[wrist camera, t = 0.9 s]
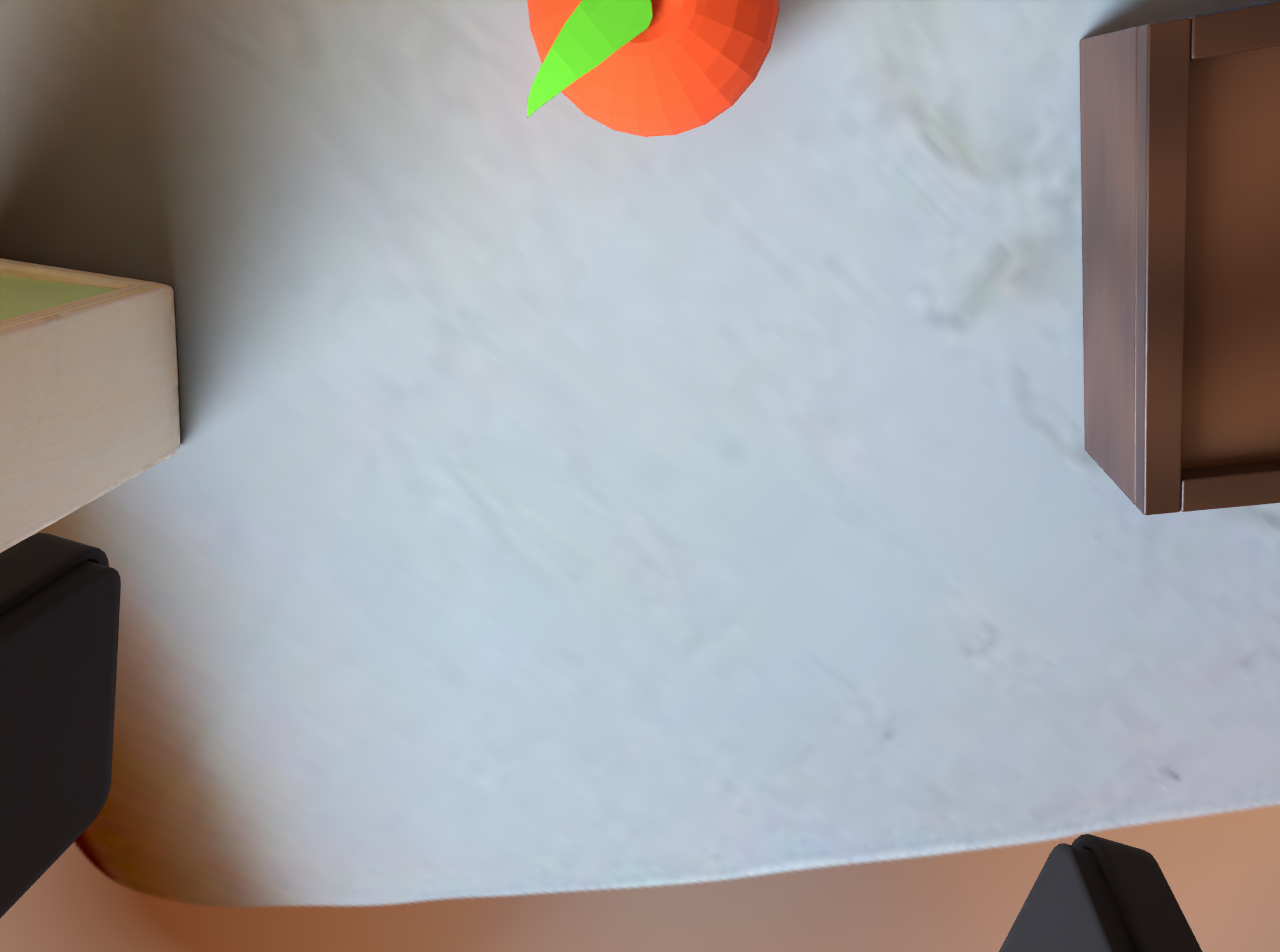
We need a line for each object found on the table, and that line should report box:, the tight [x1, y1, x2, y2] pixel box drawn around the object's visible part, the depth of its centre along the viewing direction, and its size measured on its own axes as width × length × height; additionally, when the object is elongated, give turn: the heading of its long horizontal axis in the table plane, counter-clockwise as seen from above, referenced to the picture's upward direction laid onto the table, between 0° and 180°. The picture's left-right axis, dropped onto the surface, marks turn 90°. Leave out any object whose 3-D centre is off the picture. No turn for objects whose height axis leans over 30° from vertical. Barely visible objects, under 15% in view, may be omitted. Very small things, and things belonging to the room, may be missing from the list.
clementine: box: [527, 0, 779, 137], centre depth 27 cm, size 8×7×7 cm
